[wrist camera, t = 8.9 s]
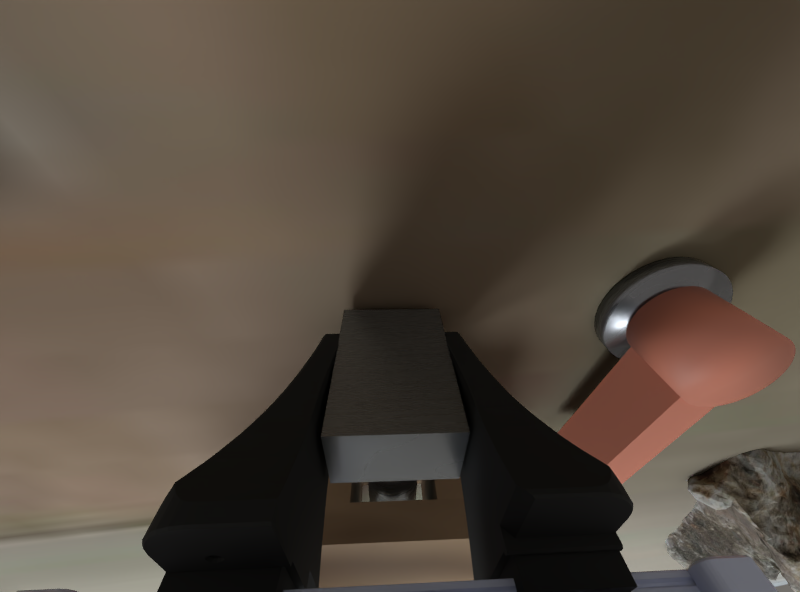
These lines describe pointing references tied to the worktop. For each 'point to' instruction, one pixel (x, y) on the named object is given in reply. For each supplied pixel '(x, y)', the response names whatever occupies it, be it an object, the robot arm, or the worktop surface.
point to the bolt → (393, 404)
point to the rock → (745, 514)
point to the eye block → (395, 537)
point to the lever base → (652, 295)
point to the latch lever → (675, 376)
